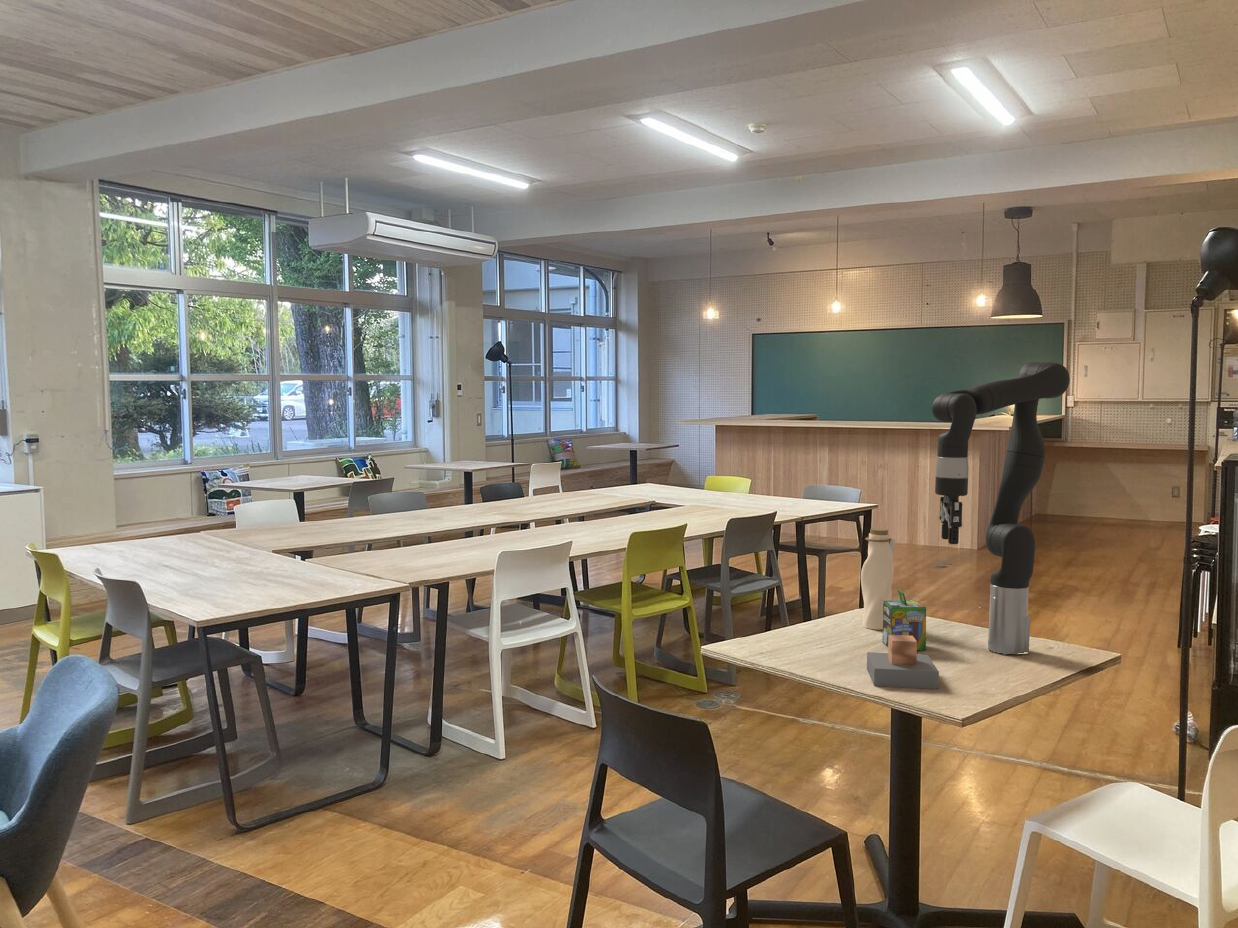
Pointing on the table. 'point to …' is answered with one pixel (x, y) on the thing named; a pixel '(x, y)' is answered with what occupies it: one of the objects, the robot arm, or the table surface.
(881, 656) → the charcoal base
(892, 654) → the terracotta cube
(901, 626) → the chalk box
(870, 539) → the water bottle
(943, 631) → the table surface
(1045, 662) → the table surface
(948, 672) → the table surface
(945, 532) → the robot arm
